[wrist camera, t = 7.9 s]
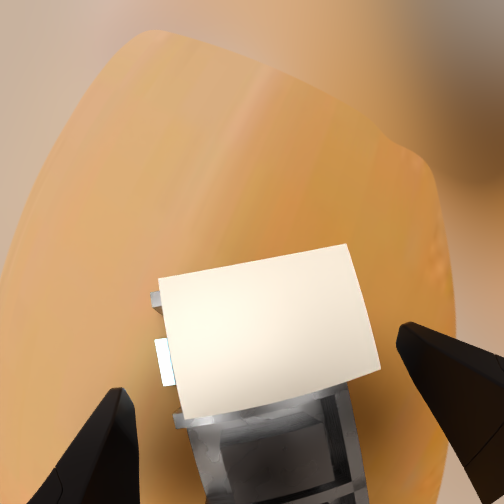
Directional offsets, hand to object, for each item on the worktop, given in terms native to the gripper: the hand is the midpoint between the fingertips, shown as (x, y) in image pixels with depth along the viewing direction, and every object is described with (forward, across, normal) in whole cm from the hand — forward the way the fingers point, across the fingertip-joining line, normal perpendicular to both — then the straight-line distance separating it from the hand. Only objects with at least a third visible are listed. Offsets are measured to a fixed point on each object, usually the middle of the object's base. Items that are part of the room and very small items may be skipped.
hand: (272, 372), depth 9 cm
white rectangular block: (+7, 0, +6) cm, 9 cm away
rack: (+4, 0, +11) cm, 11 cm away
